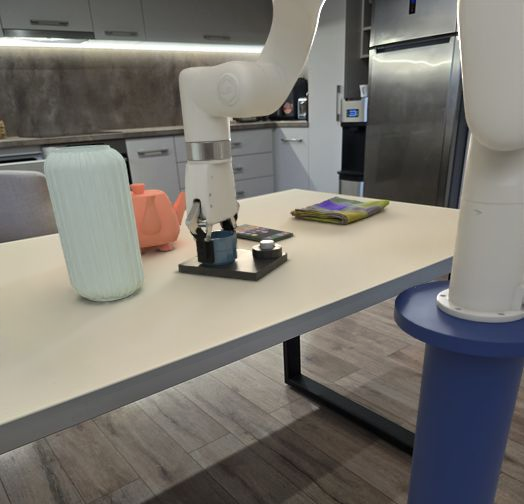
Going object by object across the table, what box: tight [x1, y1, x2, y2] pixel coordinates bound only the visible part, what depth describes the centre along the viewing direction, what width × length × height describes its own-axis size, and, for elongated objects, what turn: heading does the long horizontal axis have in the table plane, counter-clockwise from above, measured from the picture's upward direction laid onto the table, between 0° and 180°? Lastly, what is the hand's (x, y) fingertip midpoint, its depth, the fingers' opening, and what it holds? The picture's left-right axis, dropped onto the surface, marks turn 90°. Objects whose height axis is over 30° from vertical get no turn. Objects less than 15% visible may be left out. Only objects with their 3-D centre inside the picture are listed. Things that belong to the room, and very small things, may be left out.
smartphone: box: [236, 223, 294, 243], centre depth 110 cm, size 8×15×1 cm, turn 48°
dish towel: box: [290, 196, 390, 225], centre depth 128 cm, size 18×24×3 cm
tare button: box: [259, 240, 275, 249], centre depth 89 cm, size 3×3×1 cm
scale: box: [177, 242, 288, 282], centre depth 89 cm, size 16×13×3 cm
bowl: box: [203, 229, 239, 266], centre depth 87 cm, size 7×7×5 cm
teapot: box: [129, 182, 186, 255], centre depth 101 cm, size 16×17×14 cm
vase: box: [43, 144, 145, 303], centre depth 74 cm, size 12×12×22 cm
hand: (218, 256), depth 88 cm, fingers closed on bowl, 7 cm apart
